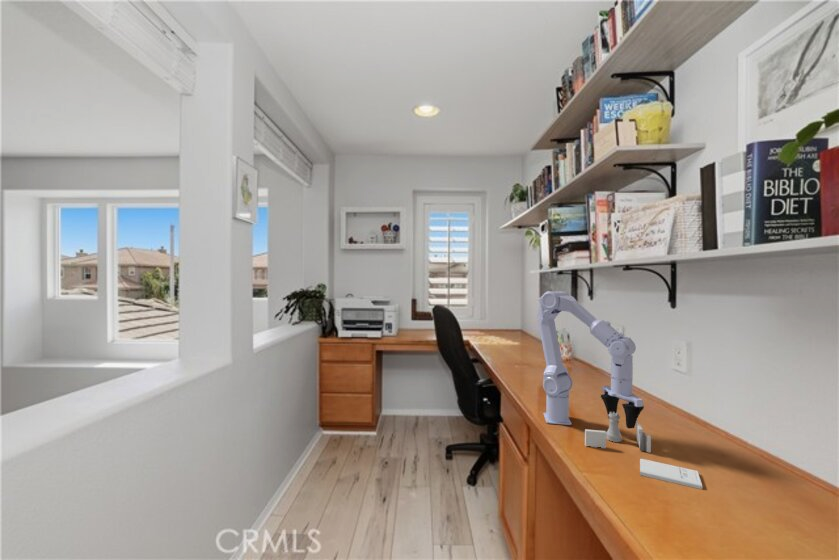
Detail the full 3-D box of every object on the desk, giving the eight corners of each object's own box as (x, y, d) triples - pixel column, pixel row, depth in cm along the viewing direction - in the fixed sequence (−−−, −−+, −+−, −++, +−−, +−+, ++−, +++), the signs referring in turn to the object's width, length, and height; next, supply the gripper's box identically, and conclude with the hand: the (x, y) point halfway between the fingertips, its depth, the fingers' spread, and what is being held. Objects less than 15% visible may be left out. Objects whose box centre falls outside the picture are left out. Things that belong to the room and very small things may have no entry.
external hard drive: (639, 463, 101) (697, 476, 95) (639, 477, 94) (702, 492, 88) (639, 457, 101) (697, 469, 95) (640, 470, 94) (702, 484, 88)
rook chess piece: (602, 436, 117) (602, 410, 117) (615, 436, 117) (615, 410, 117) (611, 443, 112) (612, 415, 112) (625, 442, 113) (626, 415, 113)
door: (640, 437, 116) (640, 422, 116) (644, 451, 107) (645, 433, 107) (635, 437, 116) (636, 421, 116) (639, 450, 107) (640, 433, 107)
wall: (584, 444, 111) (585, 429, 111) (649, 450, 108) (649, 434, 108) (585, 446, 110) (585, 430, 110) (650, 452, 106) (650, 436, 106)
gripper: (594, 372, 121) (593, 415, 121) (628, 385, 107) (627, 433, 107) (613, 371, 123) (612, 413, 123) (649, 383, 108) (648, 431, 108)
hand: (621, 422), depth 115 cm, fingers open, 7 cm apart
